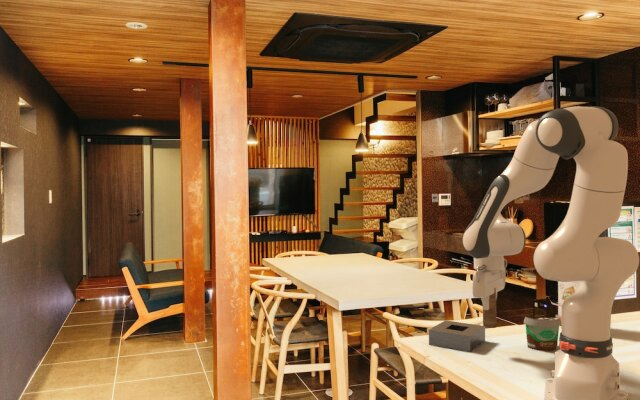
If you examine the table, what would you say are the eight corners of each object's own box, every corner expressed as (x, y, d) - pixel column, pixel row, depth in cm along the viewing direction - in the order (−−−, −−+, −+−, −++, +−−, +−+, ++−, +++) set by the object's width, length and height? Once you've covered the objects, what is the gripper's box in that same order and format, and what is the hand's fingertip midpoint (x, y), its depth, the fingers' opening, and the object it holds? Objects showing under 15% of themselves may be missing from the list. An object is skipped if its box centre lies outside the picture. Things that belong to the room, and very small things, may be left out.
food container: (535, 353, 163) (535, 321, 163) (523, 347, 169) (523, 316, 169) (570, 350, 166) (570, 319, 165) (557, 344, 172) (557, 314, 171)
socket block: (470, 352, 166) (470, 336, 165) (428, 344, 174) (428, 329, 174) (485, 340, 177) (485, 326, 177) (445, 334, 185) (445, 320, 185)
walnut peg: (494, 328, 161) (493, 289, 161) (481, 326, 163) (480, 288, 163) (498, 325, 164) (497, 287, 164) (485, 324, 166) (484, 286, 166)
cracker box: (557, 325, 195) (557, 268, 194) (570, 323, 197) (570, 267, 196) (587, 335, 182) (587, 274, 181) (600, 333, 184) (600, 273, 183)
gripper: (487, 267, 153) (488, 315, 153) (508, 260, 170) (509, 303, 170) (466, 266, 157) (467, 313, 157) (489, 259, 173) (490, 301, 173)
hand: (489, 308), depth 163 cm, fingers closed on walnut peg, 4 cm apart
